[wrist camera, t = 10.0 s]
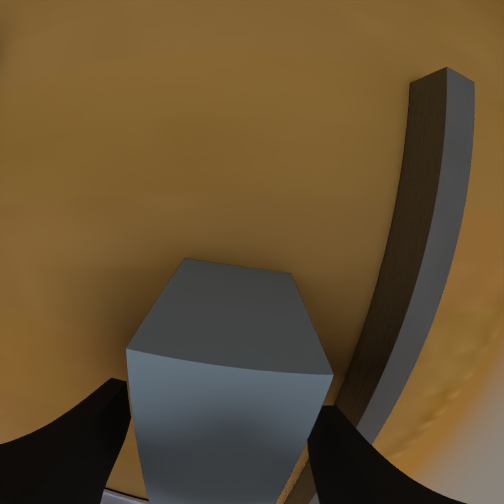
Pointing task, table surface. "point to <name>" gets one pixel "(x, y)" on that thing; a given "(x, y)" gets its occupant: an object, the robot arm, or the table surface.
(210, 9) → the table surface
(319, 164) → the table surface
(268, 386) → the box
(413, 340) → the rail
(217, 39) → the table surface
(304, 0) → the table surface
